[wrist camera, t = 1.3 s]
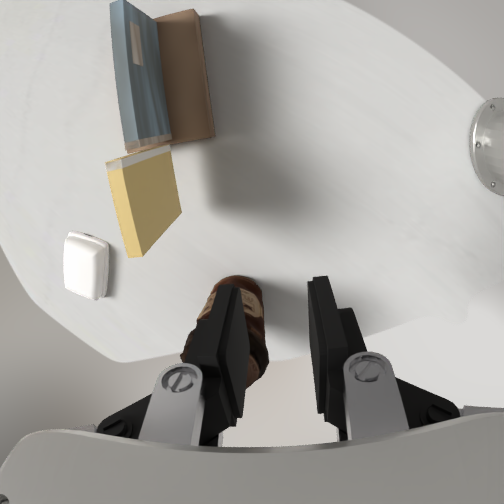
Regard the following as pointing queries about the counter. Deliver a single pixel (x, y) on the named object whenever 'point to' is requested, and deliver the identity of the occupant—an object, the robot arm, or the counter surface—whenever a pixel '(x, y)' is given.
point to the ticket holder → (160, 77)
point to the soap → (86, 265)
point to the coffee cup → (253, 322)
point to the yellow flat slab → (144, 196)
